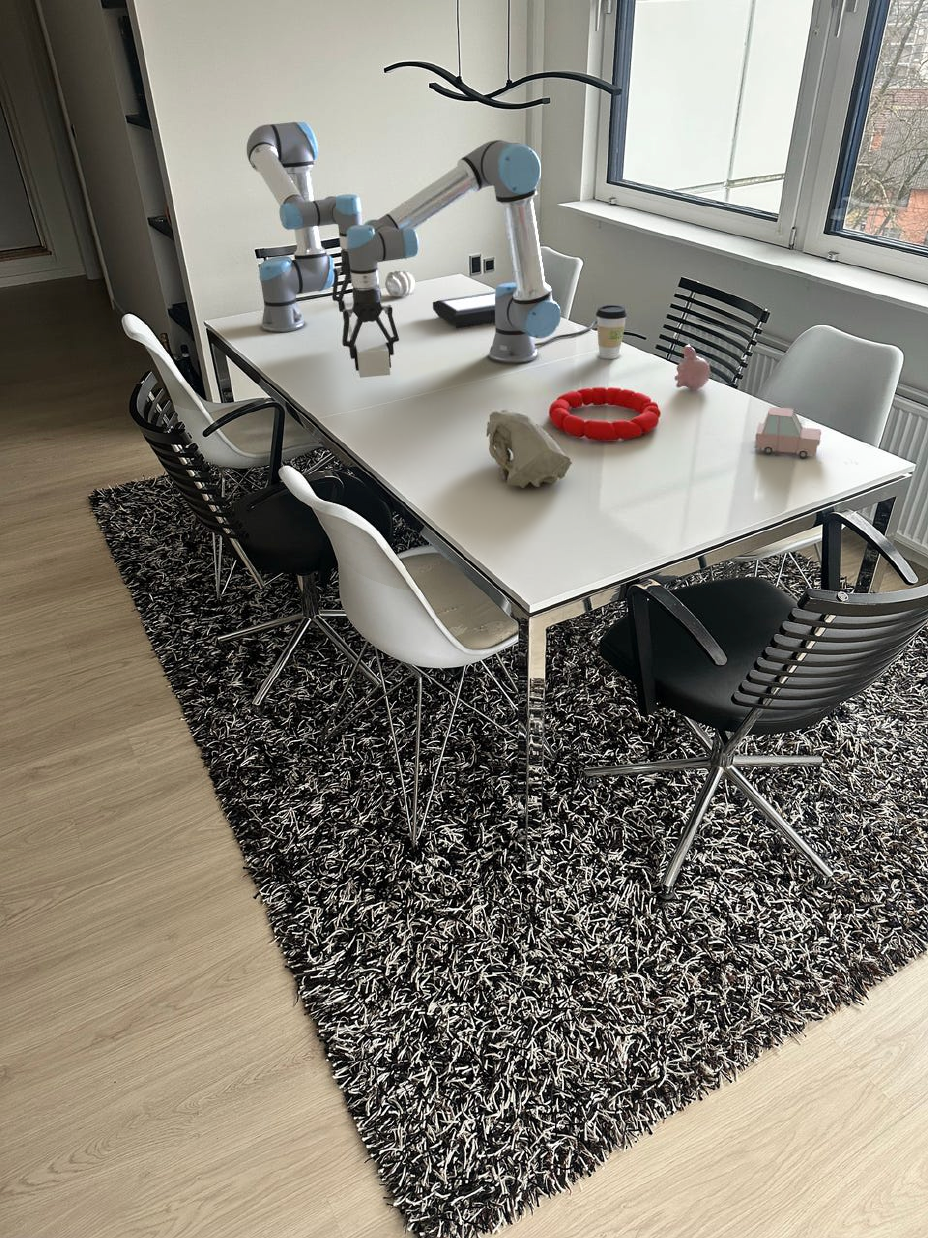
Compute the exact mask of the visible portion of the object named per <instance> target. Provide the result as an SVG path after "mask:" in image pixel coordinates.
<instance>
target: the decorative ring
mask: <svg viewBox="0 0 928 1238" xmlns="http://www.w3.org/2000/svg"><path fill="white" fill-rule="evenodd" d="M583 405H584V406H586V407H587V406H591V405H593V406H604V405H608V406H614V407H619V408H624V409H628V410H632V411H635V412H636V413H638V414H639V415H637V416H635V417H632V418H631V419H630V420H625V419H624V420H623V419H622V420H614V421H611V422H609V421H607V420H606V421H605V420H593V419H587V420H586V421H585V419H584V418H582V417H579V416H577V415H573V414H571V413H570V410H571V409H579V408H581V407H582V406H583ZM548 416H549V419H550V422H551V423H552V425H553V426H554V427H555V428H556V429H558V430H559V431H561V432H563V433H567V434H568V435H569V436H573V437H576V438H580V439H582V438H583V437H585V438H586V439H587V440H591V441H601V442H602V441H603V442H608V441H609V442H610V441H611V442H612V441H615V442H616V441H618V440H630V439H634V438H638V437H641V436H642V434H647V433H650V432H651V431H653V430H654V429H655V428H656V427H657V426H658V424H659V422H660V421H659V420H660V417H661V410H660V408H659V405H658V403H657V402H656V401H652V399H651V397H649V396H648V395H646V394H644V393H642V392H635V391H634V390H632V389H628V388H624V389H622V388H620V387H613V386H612V387H611V386H610V387H608V388H606V387H604V386H594V387H585V388H584V387H583V388H580V389H578V390H571V391H568V392H565V393H563V394H561V395H560V396H558V397H557V398H556V400H554V401H552V403H551V404H550V407H549V409H548Z"/></svg>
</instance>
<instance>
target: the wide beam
mask: <svg viewBox="0 0 928 1238" xmlns="http://www.w3.org/2000/svg"><path fill="white" fill-rule="evenodd" d="M343 300H344V304H345V309H351V308H352V307H353V304H354V303H353V295H347V296H344V297H343ZM357 318H358V317H357V316H356V315H355V314H354V313H352V314H351V317H349V330H348V336H349V339H350V338H351V335H352V333H353V330H354V327H355V324H356V321H357ZM386 342H387V341H386V340H385V336H384V334H383V332H382V331H381V329H380V327H379V325H378V324H377V322H376V321H375V322H370V321H369V322H365V323H364V322H363V323H362V325H361V327H360V330H359V333H358V336H357V338H356V341H355V344H354V345H356V349H357V359H358V369H359V371H358V374H359V378H360V379H361V378H372V377H382V376H383V377H384V376H391V368H390V364H389V351H388V348H387V345H386Z"/></svg>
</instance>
